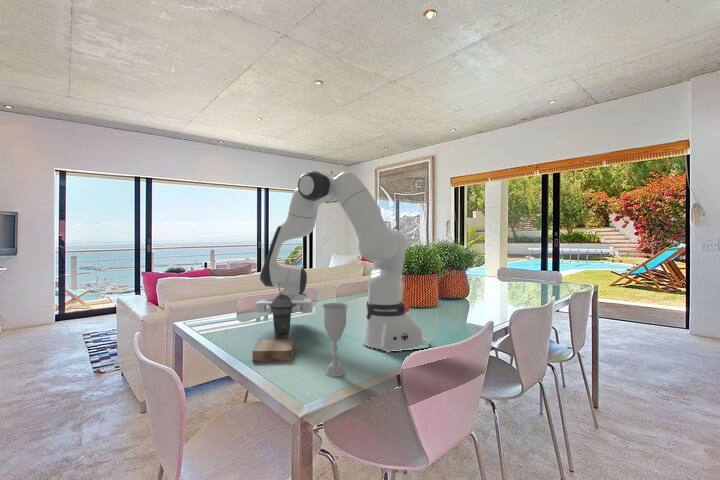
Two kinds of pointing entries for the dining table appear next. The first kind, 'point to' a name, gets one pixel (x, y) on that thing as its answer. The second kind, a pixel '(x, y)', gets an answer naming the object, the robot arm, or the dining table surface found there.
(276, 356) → the walnut plinth
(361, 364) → the dining table surface
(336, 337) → the chalice
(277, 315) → the beverage cup
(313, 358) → the dining table surface
